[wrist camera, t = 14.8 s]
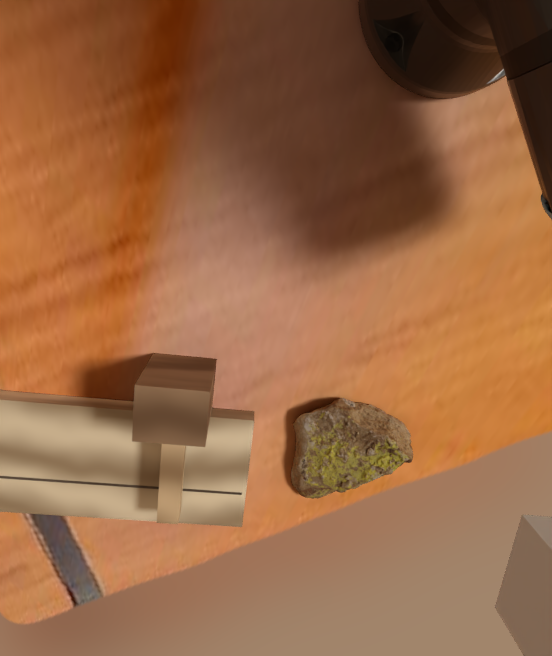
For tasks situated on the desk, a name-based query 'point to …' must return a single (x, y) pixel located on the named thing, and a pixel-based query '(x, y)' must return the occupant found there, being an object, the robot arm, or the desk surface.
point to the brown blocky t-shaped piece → (173, 418)
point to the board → (114, 462)
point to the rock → (346, 447)
